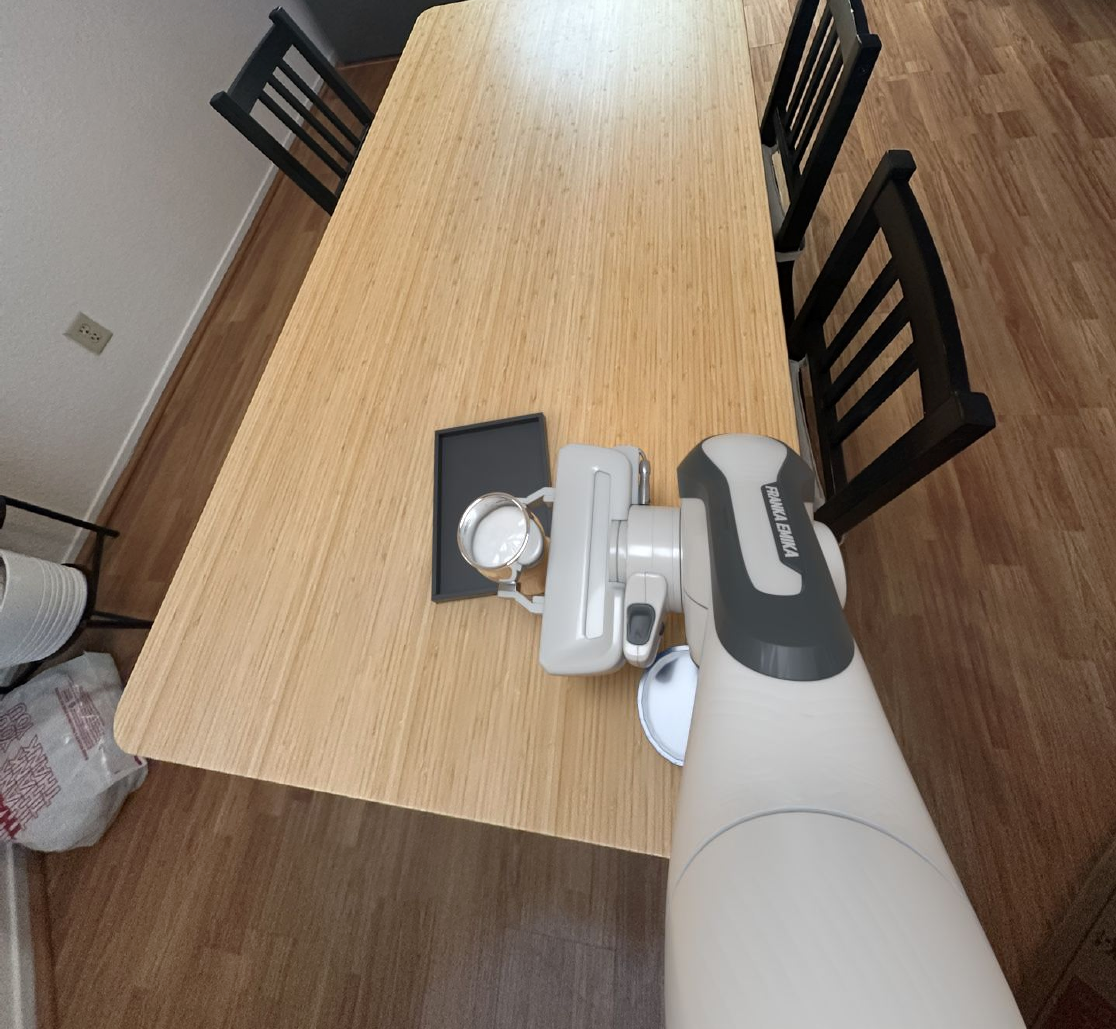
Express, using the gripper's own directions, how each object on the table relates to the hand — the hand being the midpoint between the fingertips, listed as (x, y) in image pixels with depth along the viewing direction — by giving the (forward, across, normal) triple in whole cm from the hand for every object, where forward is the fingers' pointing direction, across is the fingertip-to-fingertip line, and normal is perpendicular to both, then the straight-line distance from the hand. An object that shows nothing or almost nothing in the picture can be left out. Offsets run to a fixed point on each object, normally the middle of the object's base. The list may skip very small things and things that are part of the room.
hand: (505, 547), depth 61 cm
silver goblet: (-1, 0, +8) cm, 8 cm away
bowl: (-17, +11, +17) cm, 26 cm away
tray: (+7, -8, +17) cm, 20 cm away
